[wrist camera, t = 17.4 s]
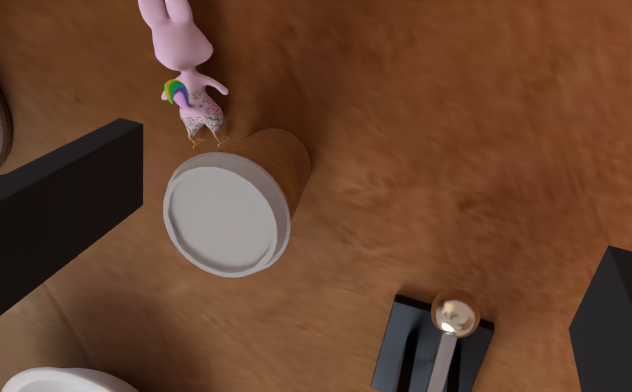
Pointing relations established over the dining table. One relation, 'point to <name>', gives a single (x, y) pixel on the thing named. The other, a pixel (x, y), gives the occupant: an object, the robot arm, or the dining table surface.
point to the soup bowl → (66, 381)
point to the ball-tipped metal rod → (451, 330)
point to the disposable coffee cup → (237, 202)
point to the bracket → (425, 351)
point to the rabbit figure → (184, 64)
